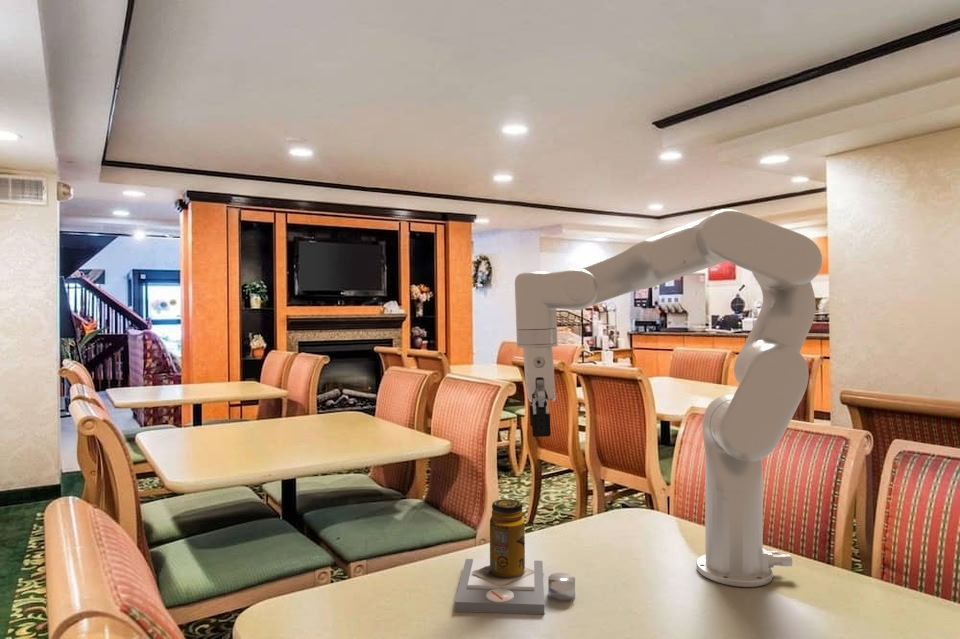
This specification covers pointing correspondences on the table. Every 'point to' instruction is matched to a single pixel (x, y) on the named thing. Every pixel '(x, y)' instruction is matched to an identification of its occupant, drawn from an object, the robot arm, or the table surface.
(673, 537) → the table surface
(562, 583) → the knob
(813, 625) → the table surface
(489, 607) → the scale
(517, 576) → the condiment
